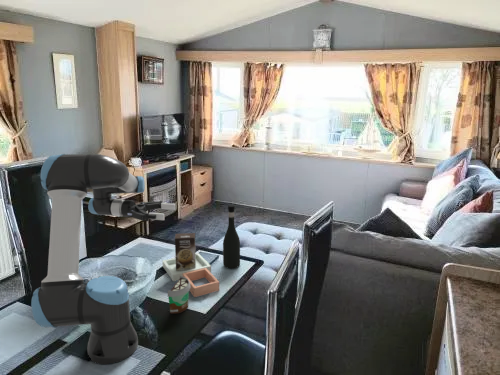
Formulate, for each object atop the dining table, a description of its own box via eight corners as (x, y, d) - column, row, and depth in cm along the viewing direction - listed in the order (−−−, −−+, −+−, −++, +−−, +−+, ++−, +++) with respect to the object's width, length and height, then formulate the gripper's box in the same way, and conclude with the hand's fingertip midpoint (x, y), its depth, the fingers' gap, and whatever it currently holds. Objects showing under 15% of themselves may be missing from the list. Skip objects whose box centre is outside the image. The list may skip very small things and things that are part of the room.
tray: (173, 281, 157) (172, 275, 156) (162, 266, 170) (162, 260, 170) (211, 271, 166) (211, 265, 165) (198, 258, 179) (198, 252, 178)
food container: (184, 317, 131) (183, 293, 129) (168, 315, 133) (167, 291, 130) (195, 299, 143) (195, 276, 141) (181, 297, 144) (180, 275, 142)
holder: (194, 297, 145) (194, 288, 144) (182, 281, 157) (182, 273, 156) (219, 290, 150) (219, 281, 149) (206, 276, 162) (206, 267, 161)
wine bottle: (220, 264, 172) (219, 205, 165) (233, 260, 177) (233, 202, 170) (229, 271, 166) (229, 209, 159) (243, 266, 171) (243, 206, 163)
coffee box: (175, 271, 163) (174, 238, 159) (176, 265, 170) (175, 233, 166) (196, 270, 165) (194, 237, 161) (196, 264, 171) (195, 232, 167)
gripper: (136, 207, 173) (179, 210, 170) (110, 226, 149) (159, 230, 147) (136, 192, 171) (179, 195, 168) (109, 208, 147) (158, 212, 145)
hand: (170, 211), depth 157 cm, fingers open, 13 cm apart
